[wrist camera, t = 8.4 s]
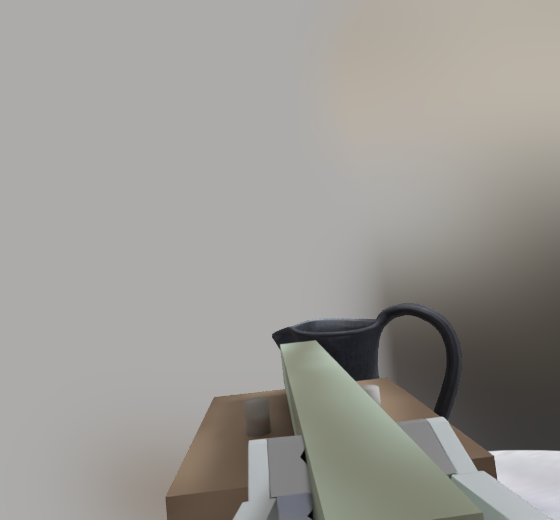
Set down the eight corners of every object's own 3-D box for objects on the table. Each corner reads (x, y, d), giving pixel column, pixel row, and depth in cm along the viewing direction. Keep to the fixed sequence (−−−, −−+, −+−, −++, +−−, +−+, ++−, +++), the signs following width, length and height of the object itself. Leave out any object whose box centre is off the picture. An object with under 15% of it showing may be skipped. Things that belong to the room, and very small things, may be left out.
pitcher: (312, 530, 49) (289, 307, 52) (487, 560, 42) (451, 295, 44) (254, 653, 33) (225, 323, 36) (519, 739, 26) (460, 308, 28)
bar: (319, 376, 24) (315, 340, 25) (506, 681, 5) (482, 512, 6) (283, 380, 24) (280, 344, 24) (347, 706, 5) (328, 533, 6)
